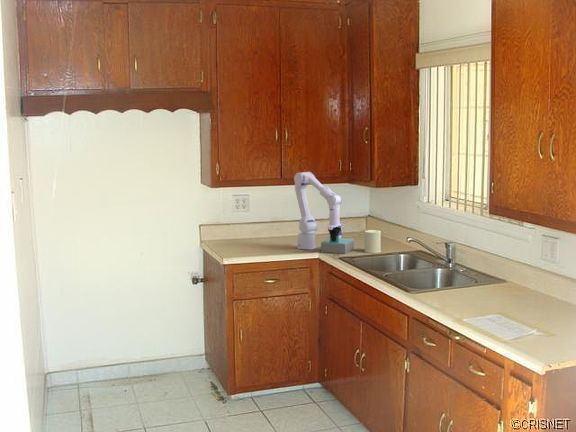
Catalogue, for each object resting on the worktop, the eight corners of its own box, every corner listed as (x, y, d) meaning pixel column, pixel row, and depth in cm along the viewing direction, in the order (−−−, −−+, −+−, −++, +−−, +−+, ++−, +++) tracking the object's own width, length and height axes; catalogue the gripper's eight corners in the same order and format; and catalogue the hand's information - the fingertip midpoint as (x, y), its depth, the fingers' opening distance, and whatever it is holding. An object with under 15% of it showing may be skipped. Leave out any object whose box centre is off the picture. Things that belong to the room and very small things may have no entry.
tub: (321, 252, 388) (321, 242, 387) (330, 247, 403) (330, 237, 402) (345, 254, 383) (345, 243, 382) (353, 249, 397) (353, 239, 396)
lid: (321, 245, 387) (321, 236, 387) (325, 242, 395) (325, 233, 394) (345, 246, 382) (345, 237, 381) (349, 244, 389) (349, 235, 389)
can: (379, 253, 384) (379, 232, 382) (362, 252, 387) (362, 231, 385) (382, 250, 393) (382, 229, 391) (366, 249, 396) (366, 228, 394)
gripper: (337, 218, 377) (337, 243, 378) (345, 215, 390) (345, 239, 392) (324, 218, 379) (324, 242, 381) (333, 214, 393) (333, 238, 394)
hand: (334, 240), depth 387 cm, fingers closed on lid
